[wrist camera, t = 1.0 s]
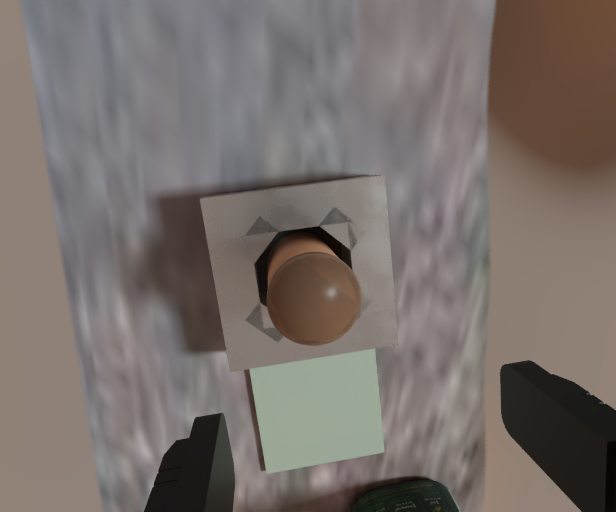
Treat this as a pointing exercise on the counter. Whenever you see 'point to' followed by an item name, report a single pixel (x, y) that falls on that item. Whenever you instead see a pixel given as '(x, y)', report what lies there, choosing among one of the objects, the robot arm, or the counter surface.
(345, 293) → the tan rounded cylinder
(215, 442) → the robot arm
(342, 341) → the housing
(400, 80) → the counter surface
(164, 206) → the counter surface
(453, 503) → the coffee jar
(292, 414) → the mat
